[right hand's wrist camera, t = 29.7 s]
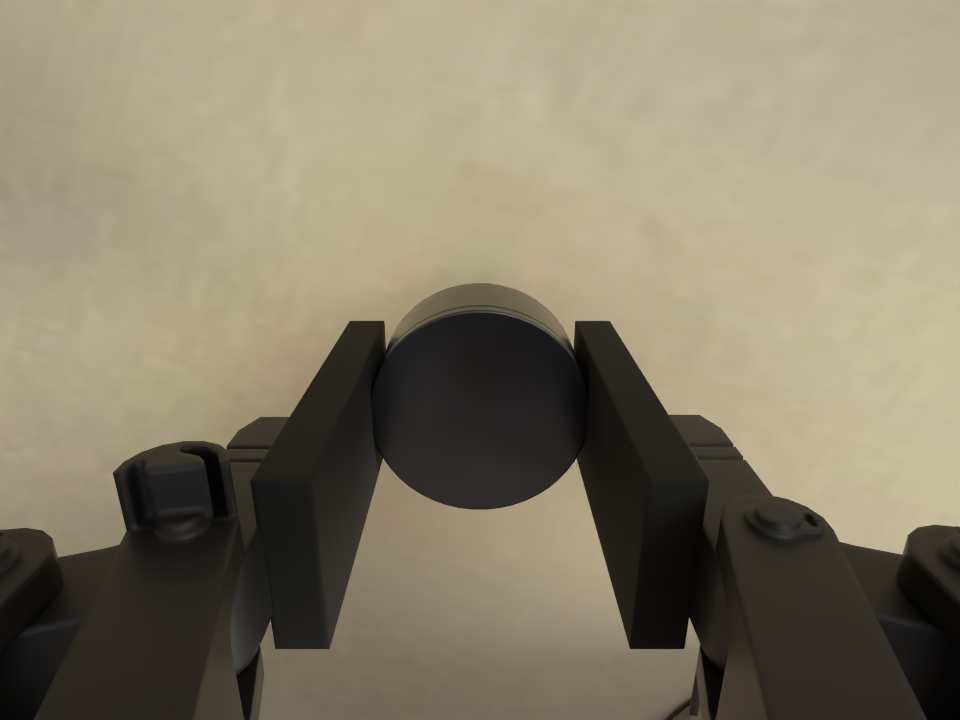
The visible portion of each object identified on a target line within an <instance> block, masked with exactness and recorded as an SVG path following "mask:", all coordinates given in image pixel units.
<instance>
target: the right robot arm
mask: <svg viewBox="0 0 960 720" xmlns="http://www.w3.org/2000/svg"><path fill="white" fill-rule="evenodd" d="M385 352H386V343H385V326H384V321H350V322H349V323H348V325H347V327H346V328H345V330H344V331H343V333H342V335H341V336H340V338H339V339H338V341H337V343H336V344H335V346H334V347H333V349H332V351H331V352H330V354H329V355H328V357H327V359H326V360H325V362H324V363H323V365H322V367H321V368H320V370H319V371H318V373H317V374H316V376H315V378H314V379H313V381H312V382H311V384H310V386H309V387H308V389H307V390H306V392H305V394H304V395H303V397H302V398H301V400H300V402H299V403H298V405H297V406H296V408H295V410H294V411H293V413H292V414H291V416H290V417H260V418H258V419H257V420H255V421H253V422H252V423H250V424H249V425H247V426H245V427H244V428H242V429H240V430H239V431H238V432H237V434H236V435H235V436H234V437H233V439H232V440H231V441H230V443H229V444H228V445H227V449H224V448H223V447H222V446H220V445H218V444H214V443H209V442H205V441H183V442H178V443H172V444H166V445H161V446H158V447H155V448H152V449H150V450H147V451H144V452H141V453H139V454H137V455H135V456H134V457H132V458H130V459H128V460H126V461H125V462H123V463H122V464H121V465H120V466H119V467H118V468H117V469H116V470H115V471H114V472H113V475H114V480H115V484H116V488H117V492H118V496H119V500H120V505H121V509H122V513H123V517H124V521H125V525H126V530H127V531H126V533H125V536H124V538H123V540H122V542H121V544H120V545H117V546H113V547H109V548H106V549H100V550H95V551H90V552H85V553H80V554H75V555H69V556H64V557H59V558H58V557H57V553H56V550H55V546H54V543H53V539H52V538H51V537H50V536H49V535H47V534H46V533H45V532H44V531H41V530H35V529H29V528H20V529H9V530H0V720H259V712H260V703H261V695H262V687H263V679H264V669H263V662H262V655H261V649H260V644H261V641H262V639H263V636H264V634H265V631H266V629H267V627H268V624H269V622H270V619H271V623H272V630H273V637H274V643H275V649H330V645H331V641H332V638H333V634H334V631H335V627H336V624H337V620H338V616H339V613H340V609H341V606H342V602H343V599H344V595H345V592H346V588H347V584H348V581H349V577H350V574H351V570H352V567H353V563H354V559H355V556H356V552H357V549H358V545H359V542H360V538H361V534H362V531H363V527H364V524H365V520H366V517H367V513H368V510H369V506H370V502H371V499H372V495H373V492H374V488H375V485H376V481H377V477H378V474H379V470H380V467H381V463H382V460H383V457H382V455H381V453H380V451H379V449H378V447H377V444H376V442H375V439H374V436H373V423H372V408H371V391H372V387H373V383H374V380H375V378H376V375H377V373H378V370H379V367H380V365H381V362H382V360H383V357H384V355H385ZM574 353H575V355H576V358H577V360H578V363H579V365H580V368H581V370H582V373H583V375H584V378H585V381H586V383H587V388H588V392H589V400H588V415H587V430H586V438H585V441H584V444H583V446H582V449H581V450H580V452H579V454H578V456H577V461H578V465H579V468H580V472H581V475H582V479H583V483H584V486H585V490H586V493H587V497H588V500H589V504H590V507H591V511H592V515H593V518H594V522H595V525H596V529H597V532H598V536H599V540H600V543H601V547H602V550H603V554H604V557H605V561H606V565H607V568H608V572H609V575H610V579H611V582H612V586H613V589H614V593H615V597H616V600H617V604H618V607H619V611H620V614H621V618H622V622H623V625H624V629H625V632H626V636H627V639H628V643H629V646H630V649H684V647H685V640H686V634H687V627H688V620H689V617H690V620H691V622H692V624H693V627H694V629H695V632H696V634H697V636H698V639H699V641H700V649H699V655H698V662H697V668H696V674H695V680H694V686H693V693H692V699H691V704H690V705H689V706H688V707H687V708H685V709H684V710H683V711H682V712H680V713H679V714H678V715H677V716H676V717H674V718H673V719H672V720H960V527H951V526H941V525H931V526H925V527H919V528H917V529H915V530H914V531H913V532H912V533H910V534H909V535H908V538H907V541H906V544H905V548H904V551H903V555H900V554H895V553H890V552H885V551H880V550H874V549H869V548H864V547H859V546H854V545H850V544H846V543H842V542H839V540H838V538H837V536H836V534H835V532H834V530H833V529H832V528H831V527H830V525H829V524H828V523H827V522H826V521H825V519H824V518H823V517H821V516H820V515H818V514H817V513H815V512H814V511H812V510H811V509H809V508H808V507H806V506H803V505H801V504H798V503H796V502H793V501H791V500H788V499H784V498H779V497H775V496H773V495H772V494H771V493H770V491H769V490H768V489H767V488H766V486H765V485H764V484H763V482H762V481H761V480H760V478H759V477H758V476H757V475H756V473H755V472H754V471H753V469H752V468H751V467H750V465H749V464H748V463H747V461H746V460H743V456H742V455H741V454H740V452H739V451H738V450H737V448H736V447H733V443H732V442H731V441H730V439H729V438H728V437H727V435H726V434H725V433H724V431H723V430H722V429H721V428H720V427H718V426H716V425H715V424H713V423H712V422H710V421H708V420H707V419H705V418H703V417H702V416H700V415H668V414H667V412H666V410H665V409H664V407H663V406H662V404H661V402H660V401H659V399H658V398H657V396H656V394H655V393H654V391H653V390H652V388H651V386H650V385H649V383H648V382H647V380H646V378H645V377H644V375H643V374H642V372H641V370H640V369H639V367H638V366H637V364H636V362H635V361H634V359H633V358H632V356H631V354H630V353H629V351H628V350H627V348H626V346H625V345H624V343H623V342H622V340H621V338H620V337H619V335H618V334H617V332H616V330H615V329H614V327H613V326H612V324H611V322H610V321H575V336H574Z"/></svg>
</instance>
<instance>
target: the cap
mask: <svg viewBox="0 0 960 720" xmlns="http://www.w3.org/2000/svg"><path fill="white" fill-rule="evenodd" d="M588 400H589V392H588V388H587V383H586V381H585V378H584V375H583V373H582V370H581V368H580V365H579V363H578V360H577V358H576V355H575V353H574V350H573V348H572V345H571V343H570V340H569V338H568V336H567V334H566V332H565V330H564V329H563V327H562V325H561V324H560V323H559V321H558V320H557V319H556V317H555V316H554V315H553V314H552V313H551V312H550V311H549V310H548V309H547V308H546V307H544V306H543V305H542V304H541V303H539V302H538V301H537V300H535V299H533V298H532V297H530V296H528V295H526V294H525V293H522V292H520V291H517V290H515V289H512V288H508V287H505V286H501V285H494V284H483V283H473V284H465V285H459V286H455V287H451V288H447V289H445V290H442V291H440V292H437V293H435V294H433V295H432V296H430V297H428V298H426V299H424V300H423V301H422V302H420V303H419V304H418V305H416V306H415V307H414V308H413V309H412V310H411V311H410V312H409V313H408V314H407V315H406V316H405V317H404V318H403V320H402V321H401V322H400V323H399V325H398V326H397V328H396V330H395V331H394V333H393V335H392V337H391V339H390V342H389V344H388V347H387V350H386V352H385V355H384V357H383V360H382V362H381V365H380V367H379V370H378V373H377V375H376V378H375V380H374V383H373V387H372V391H371V408H372V423H373V436H374V439H375V442H376V444H377V447H378V449H379V451H380V453H381V455H382V457H383V458H384V460H385V461H386V463H387V464H388V465H389V467H390V468H391V469H392V471H393V472H394V473H395V474H396V475H397V476H398V477H399V478H400V479H401V480H402V481H403V482H405V483H406V484H407V485H408V486H409V487H411V488H412V489H414V490H415V491H417V492H418V493H420V494H422V495H424V496H426V497H428V498H430V499H432V500H434V501H437V502H440V503H442V504H445V505H449V506H453V507H458V508H465V509H495V508H502V507H506V506H511V505H514V504H517V503H520V502H523V501H526V500H528V499H530V498H532V497H534V496H536V495H538V494H540V493H541V492H543V491H544V490H546V489H548V488H549V487H550V486H551V485H553V484H554V483H555V482H556V481H558V480H559V479H560V478H561V477H562V476H563V475H564V473H565V472H566V471H567V470H568V469H569V468H570V466H571V465H572V464H573V462H574V461H575V459H576V458H577V456H578V454H579V452H580V450H581V449H582V446H583V444H584V441H585V438H586V430H587V415H588Z"/></svg>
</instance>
